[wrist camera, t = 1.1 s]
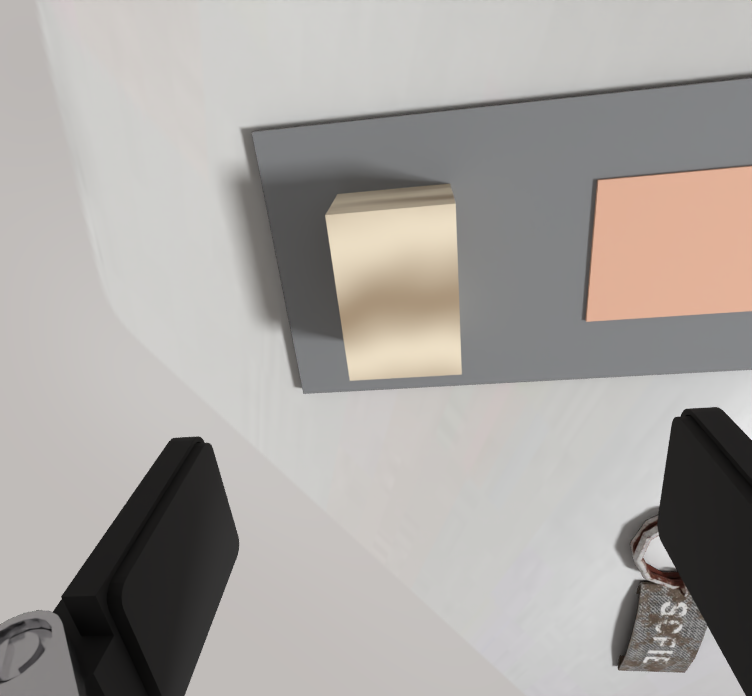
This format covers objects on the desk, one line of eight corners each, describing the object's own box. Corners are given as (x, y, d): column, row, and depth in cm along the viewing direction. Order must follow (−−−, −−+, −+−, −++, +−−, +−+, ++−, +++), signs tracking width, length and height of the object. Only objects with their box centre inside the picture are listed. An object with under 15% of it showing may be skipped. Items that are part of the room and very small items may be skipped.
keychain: (598, 660, 48) (605, 683, 46) (636, 499, 39) (646, 519, 37) (689, 663, 47) (700, 686, 45) (749, 499, 38) (766, 521, 36)
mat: (254, 131, 28) (250, 132, 28) (878, 63, 25) (892, 63, 24) (305, 388, 36) (302, 395, 35) (792, 362, 32) (800, 369, 32)
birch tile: (337, 194, 29) (325, 215, 25) (450, 183, 28) (455, 203, 24) (357, 342, 33) (349, 380, 29) (456, 336, 32) (461, 374, 28)
